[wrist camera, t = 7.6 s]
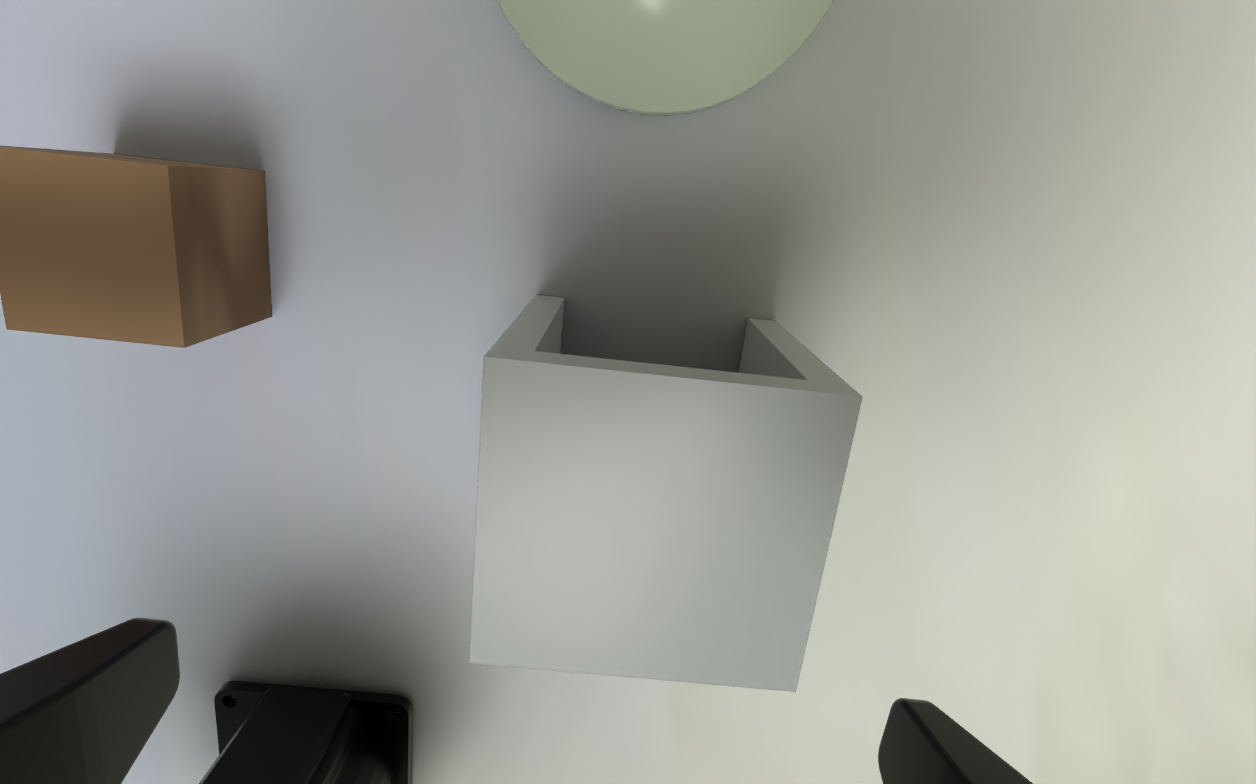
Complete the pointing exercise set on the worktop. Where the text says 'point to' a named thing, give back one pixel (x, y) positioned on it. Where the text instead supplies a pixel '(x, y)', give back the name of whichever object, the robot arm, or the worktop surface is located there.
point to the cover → (654, 508)
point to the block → (131, 246)
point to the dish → (663, 47)
